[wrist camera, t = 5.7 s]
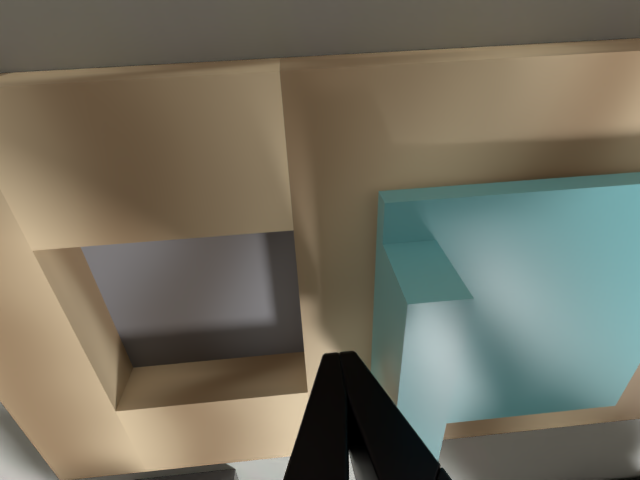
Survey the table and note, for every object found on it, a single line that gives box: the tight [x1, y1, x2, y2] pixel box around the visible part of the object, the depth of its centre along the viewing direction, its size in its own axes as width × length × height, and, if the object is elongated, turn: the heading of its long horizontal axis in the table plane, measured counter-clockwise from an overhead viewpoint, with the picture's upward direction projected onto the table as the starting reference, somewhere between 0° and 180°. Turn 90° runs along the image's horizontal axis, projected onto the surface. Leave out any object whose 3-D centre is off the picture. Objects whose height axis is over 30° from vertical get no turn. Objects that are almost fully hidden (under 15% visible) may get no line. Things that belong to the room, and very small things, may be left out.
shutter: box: [371, 172, 640, 461], centre depth 10 cm, size 8×8×3 cm
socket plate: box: [0, 38, 640, 480], centre depth 12 cm, size 22×13×2 cm, turn 92°
